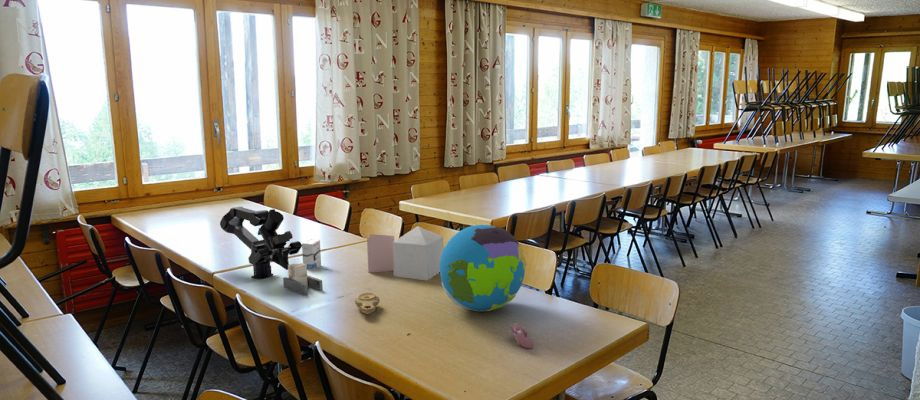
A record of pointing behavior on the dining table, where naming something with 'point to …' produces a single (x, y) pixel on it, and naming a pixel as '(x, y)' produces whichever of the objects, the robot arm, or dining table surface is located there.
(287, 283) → the chute
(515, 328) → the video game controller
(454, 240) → the globe
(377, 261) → the greeting card
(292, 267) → the block
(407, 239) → the decorative block
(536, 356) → the dining table surface
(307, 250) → the ink box
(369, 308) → the oil lamp
